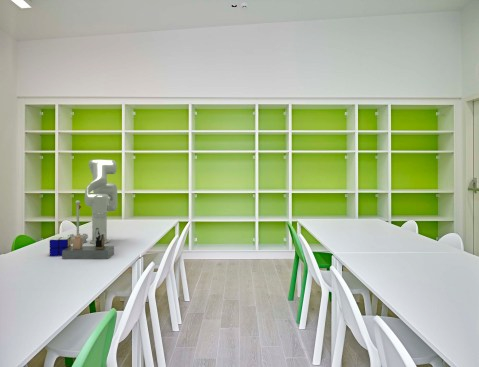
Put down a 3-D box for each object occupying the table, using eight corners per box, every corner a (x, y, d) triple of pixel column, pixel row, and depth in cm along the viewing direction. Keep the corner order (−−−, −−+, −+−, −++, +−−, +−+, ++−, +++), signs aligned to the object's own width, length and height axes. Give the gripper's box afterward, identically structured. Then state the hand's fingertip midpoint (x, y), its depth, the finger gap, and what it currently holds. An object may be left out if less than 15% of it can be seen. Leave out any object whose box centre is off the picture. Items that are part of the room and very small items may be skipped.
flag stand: (82, 244, 243) (82, 201, 242) (64, 244, 243) (63, 201, 242) (91, 240, 256) (91, 199, 255) (73, 240, 256) (73, 199, 255)
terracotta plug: (75, 253, 212) (75, 235, 211) (82, 253, 212) (82, 235, 212) (72, 255, 208) (72, 236, 207) (79, 255, 208) (79, 236, 208)
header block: (70, 254, 216) (70, 245, 215) (114, 254, 217) (114, 246, 217) (62, 258, 204) (62, 250, 203) (108, 258, 205) (108, 250, 205)
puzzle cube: (49, 256, 209) (49, 239, 209) (53, 252, 219) (53, 236, 218) (67, 255, 212) (67, 239, 211) (71, 252, 221) (71, 236, 221)
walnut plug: (97, 253, 213) (97, 235, 212) (104, 253, 213) (104, 235, 213) (95, 255, 209) (95, 236, 208) (102, 255, 209) (102, 236, 209)
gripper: (98, 213, 218) (98, 243, 219) (88, 217, 201) (88, 249, 202) (110, 214, 219) (110, 243, 219) (102, 217, 202) (102, 249, 203)
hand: (100, 245), depth 211 cm, fingers closed on walnut plug, 4 cm apart
